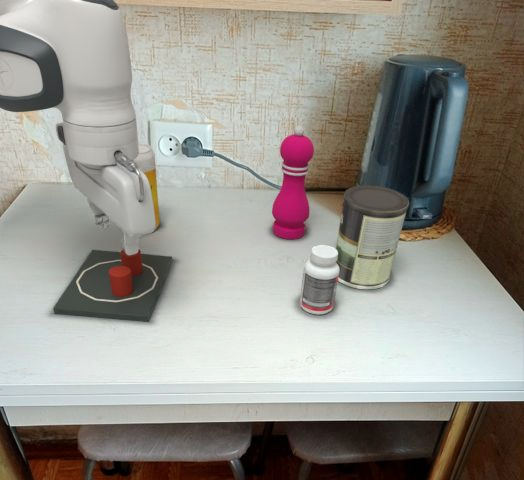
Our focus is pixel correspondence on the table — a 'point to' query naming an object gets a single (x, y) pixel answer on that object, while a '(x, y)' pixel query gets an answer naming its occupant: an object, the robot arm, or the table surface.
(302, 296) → the pill bottle
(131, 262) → the red cylinder
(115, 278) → the dot
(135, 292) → the slate board
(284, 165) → the pepper mill
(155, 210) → the beer can
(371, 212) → the coffee can
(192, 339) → the table surface
